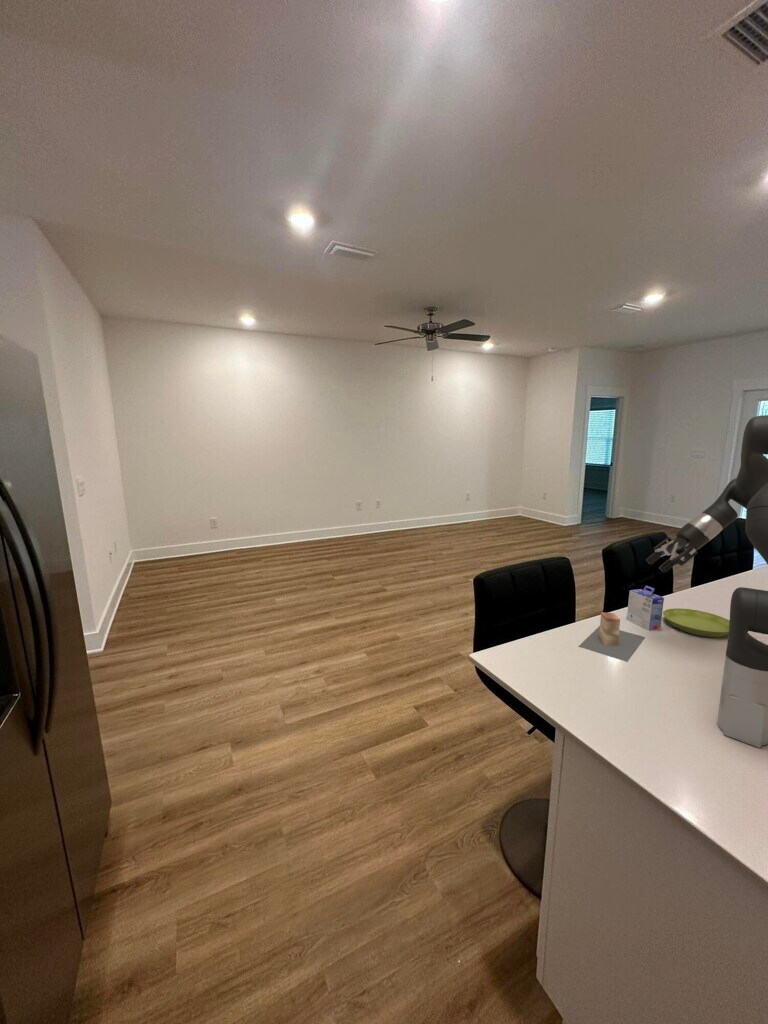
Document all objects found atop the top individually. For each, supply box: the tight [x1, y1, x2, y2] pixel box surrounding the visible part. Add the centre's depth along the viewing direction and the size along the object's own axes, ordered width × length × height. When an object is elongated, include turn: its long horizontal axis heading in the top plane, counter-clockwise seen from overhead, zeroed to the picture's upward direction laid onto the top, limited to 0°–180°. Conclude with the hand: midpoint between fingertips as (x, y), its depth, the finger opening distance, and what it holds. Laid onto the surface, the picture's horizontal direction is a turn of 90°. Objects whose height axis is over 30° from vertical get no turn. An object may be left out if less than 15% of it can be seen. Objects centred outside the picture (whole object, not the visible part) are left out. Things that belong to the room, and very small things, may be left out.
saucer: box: [662, 607, 730, 638], centre depth 146 cm, size 21×21×3 cm
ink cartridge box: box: [625, 585, 665, 632], centre depth 146 cm, size 10×6×14 cm, turn 15°
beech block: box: [599, 611, 621, 646], centre depth 134 cm, size 4×5×9 cm
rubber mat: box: [578, 625, 646, 663], centre depth 135 cm, size 22×14×1 cm, turn 136°
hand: (654, 566), depth 129 cm, fingers open, 8 cm apart
